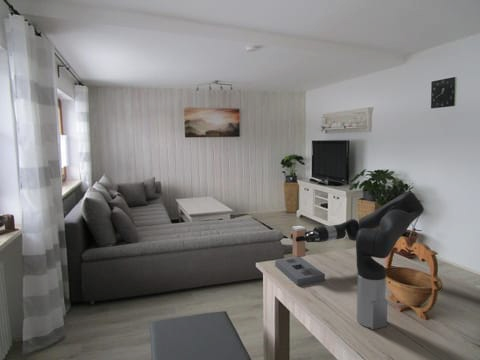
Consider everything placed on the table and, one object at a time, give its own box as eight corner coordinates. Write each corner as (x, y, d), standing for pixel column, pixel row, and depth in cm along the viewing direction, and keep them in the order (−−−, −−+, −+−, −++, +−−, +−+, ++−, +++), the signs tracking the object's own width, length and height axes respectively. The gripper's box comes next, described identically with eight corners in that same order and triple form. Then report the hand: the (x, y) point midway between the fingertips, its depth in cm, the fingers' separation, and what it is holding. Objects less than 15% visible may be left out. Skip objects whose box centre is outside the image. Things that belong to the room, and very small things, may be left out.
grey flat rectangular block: (324, 280, 147) (324, 274, 146) (297, 285, 143) (297, 278, 142) (299, 261, 169) (299, 256, 169) (275, 265, 165) (275, 260, 165)
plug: (305, 256, 154) (305, 227, 152) (296, 257, 152) (296, 228, 150) (300, 253, 158) (300, 225, 156) (292, 254, 156) (292, 226, 155)
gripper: (333, 245, 152) (300, 250, 147) (317, 236, 165) (287, 241, 160) (333, 229, 151) (300, 234, 146) (317, 222, 164) (286, 226, 159)
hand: (293, 237), depth 153 cm, fingers closed on plug, 4 cm apart
